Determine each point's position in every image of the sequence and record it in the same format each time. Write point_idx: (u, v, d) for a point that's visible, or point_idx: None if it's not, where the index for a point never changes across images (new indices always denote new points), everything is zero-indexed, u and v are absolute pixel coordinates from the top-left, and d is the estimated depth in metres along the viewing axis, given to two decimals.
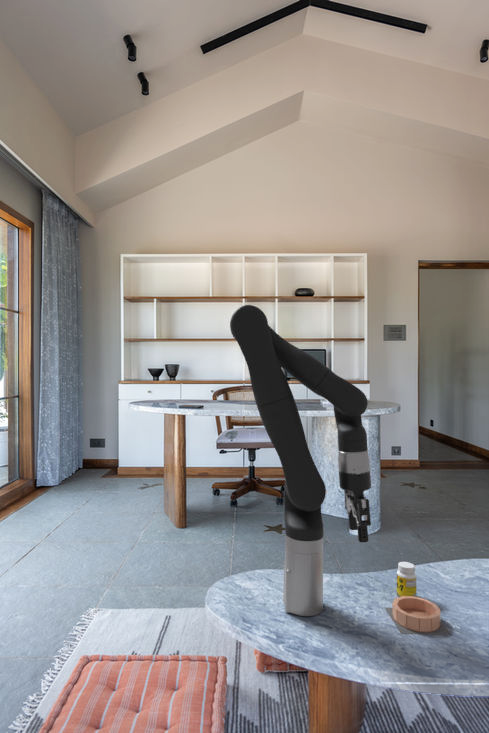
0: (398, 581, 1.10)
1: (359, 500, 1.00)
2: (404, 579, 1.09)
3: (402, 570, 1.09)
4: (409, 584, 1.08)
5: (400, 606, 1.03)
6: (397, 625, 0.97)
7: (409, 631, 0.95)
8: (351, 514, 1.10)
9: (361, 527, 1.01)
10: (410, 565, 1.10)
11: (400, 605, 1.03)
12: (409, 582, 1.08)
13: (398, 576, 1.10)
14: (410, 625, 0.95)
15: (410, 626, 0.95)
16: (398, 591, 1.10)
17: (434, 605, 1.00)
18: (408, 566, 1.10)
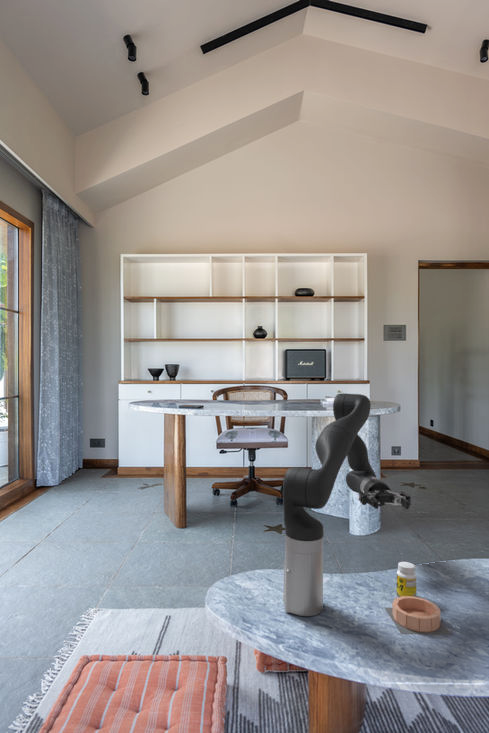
0: (398, 581, 1.10)
1: None
2: (404, 579, 1.09)
3: (402, 570, 1.09)
4: (409, 584, 1.08)
5: (400, 606, 1.03)
6: (397, 625, 0.97)
7: (409, 631, 0.95)
8: None
9: (406, 500, 1.26)
10: (410, 565, 1.10)
11: (400, 605, 1.03)
12: (409, 582, 1.08)
13: (398, 576, 1.10)
14: (410, 625, 0.95)
15: (410, 626, 0.95)
16: (398, 591, 1.10)
17: (434, 605, 1.00)
18: (408, 566, 1.10)
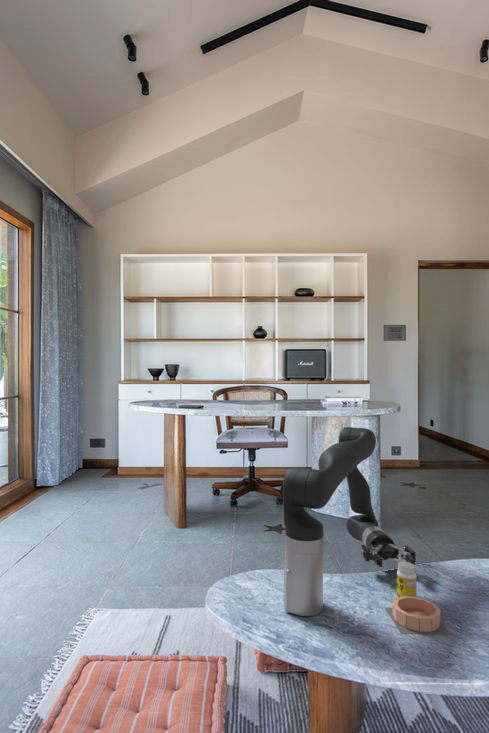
0: (398, 581, 1.10)
1: None
2: (404, 579, 1.09)
3: (402, 570, 1.09)
4: (409, 584, 1.08)
5: (400, 606, 1.03)
6: (397, 625, 0.97)
7: (409, 631, 0.95)
8: None
9: (411, 556, 1.21)
10: (410, 565, 1.10)
11: (400, 605, 1.03)
12: (409, 582, 1.08)
13: (398, 576, 1.10)
14: (410, 625, 0.95)
15: (410, 626, 0.95)
16: (398, 591, 1.10)
17: (434, 605, 1.00)
18: (408, 566, 1.10)
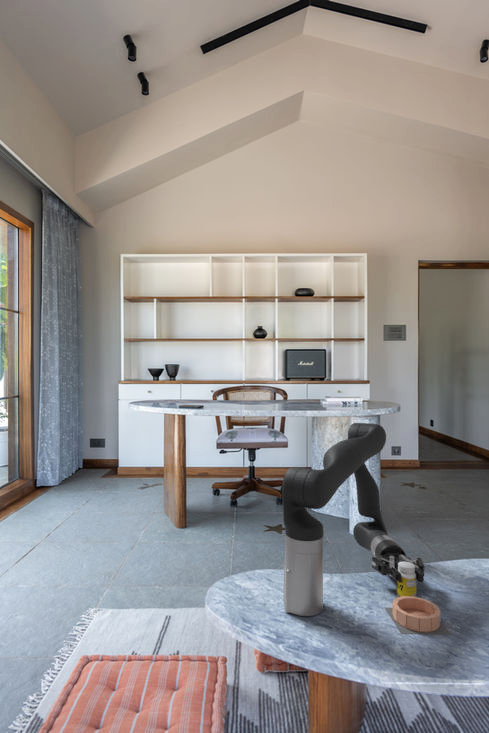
0: None
1: None
2: (404, 579, 1.09)
3: (402, 570, 1.09)
4: (409, 584, 1.08)
5: (400, 606, 1.03)
6: (397, 625, 0.97)
7: (409, 631, 0.95)
8: None
9: (419, 570, 1.12)
10: (410, 565, 1.10)
11: (400, 605, 1.03)
12: (409, 582, 1.08)
13: None
14: (410, 625, 0.95)
15: (410, 626, 0.95)
16: (398, 591, 1.10)
17: (434, 605, 1.00)
18: (408, 566, 1.10)
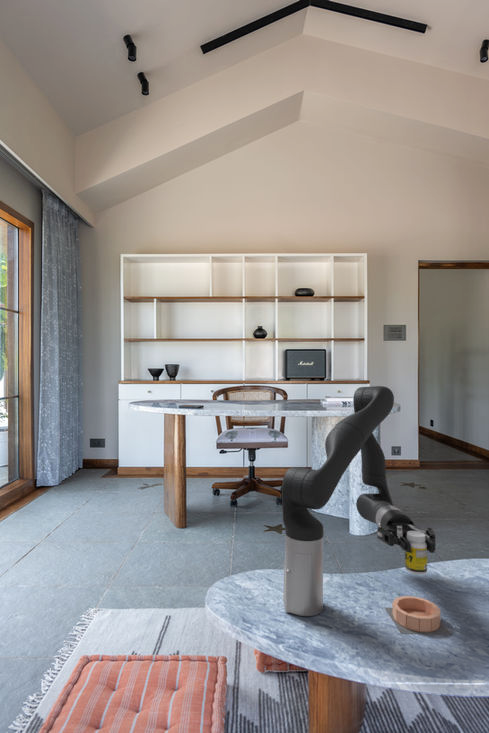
0: None
1: None
2: (414, 549, 0.98)
3: (411, 539, 0.99)
4: (419, 555, 0.98)
5: (400, 606, 1.03)
6: (397, 625, 0.97)
7: (409, 631, 0.95)
8: None
9: (430, 540, 1.01)
10: (420, 534, 1.00)
11: (400, 605, 1.03)
12: (419, 552, 0.98)
13: None
14: (410, 625, 0.95)
15: (410, 626, 0.95)
16: (407, 562, 1.00)
17: (434, 605, 1.00)
18: (418, 535, 0.99)
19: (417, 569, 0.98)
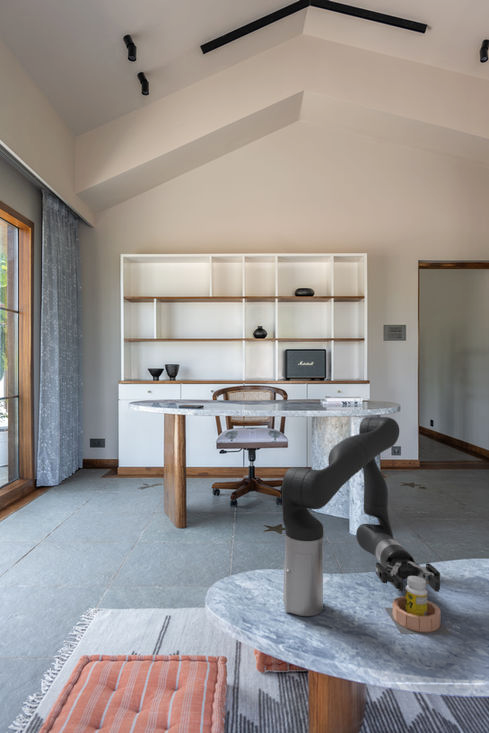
0: (407, 597, 0.99)
1: None
2: (414, 596, 0.98)
3: (412, 585, 0.99)
4: (420, 602, 0.98)
5: (400, 606, 1.03)
6: (397, 625, 0.97)
7: (409, 631, 0.95)
8: None
9: (434, 578, 1.02)
10: (421, 580, 1.00)
11: (400, 605, 1.03)
12: (420, 599, 0.98)
13: (407, 592, 0.99)
14: (410, 625, 0.95)
15: (410, 626, 0.95)
16: (407, 608, 0.99)
17: (434, 605, 1.00)
18: (419, 581, 0.99)
19: None
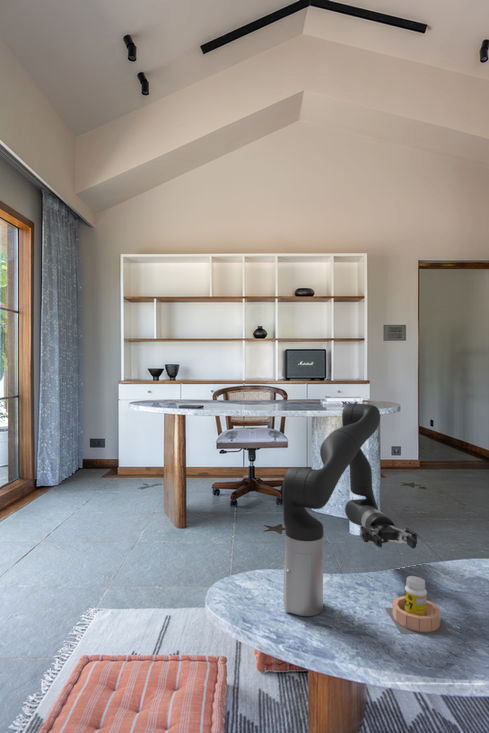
0: (407, 598, 0.99)
1: None
2: (414, 596, 0.98)
3: (411, 586, 0.99)
4: (419, 602, 0.97)
5: (400, 606, 1.03)
6: (397, 625, 0.97)
7: (409, 631, 0.95)
8: None
9: (412, 538, 1.15)
10: (420, 580, 1.00)
11: (400, 605, 1.03)
12: (419, 599, 0.98)
13: (407, 592, 0.99)
14: (410, 625, 0.95)
15: (410, 626, 0.95)
16: (407, 609, 0.99)
17: (434, 605, 1.00)
18: (418, 582, 0.99)
19: None
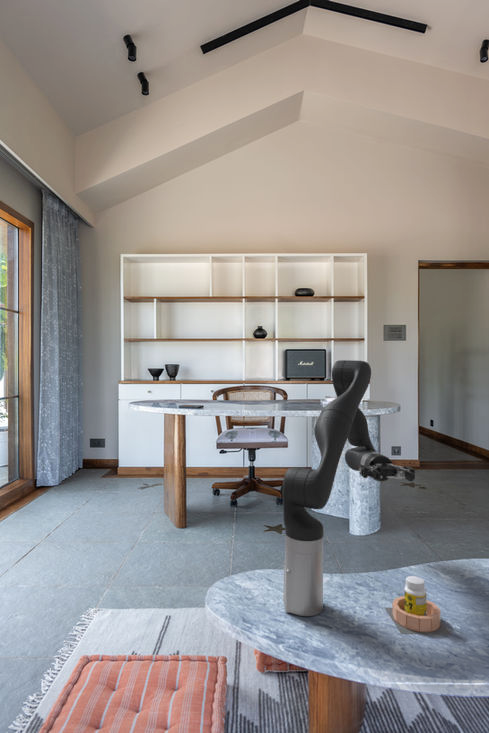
0: (406, 598, 0.99)
1: None
2: (414, 597, 0.98)
3: (411, 586, 0.99)
4: (419, 602, 0.97)
5: (400, 606, 1.03)
6: (397, 625, 0.97)
7: (409, 631, 0.95)
8: None
9: None
10: (419, 580, 1.00)
11: (400, 605, 1.03)
12: (419, 599, 0.97)
13: (406, 593, 0.99)
14: (410, 625, 0.95)
15: (410, 626, 0.95)
16: (407, 610, 0.99)
17: (434, 605, 1.00)
18: (418, 582, 0.99)
19: None
